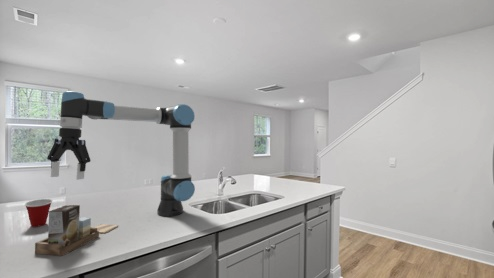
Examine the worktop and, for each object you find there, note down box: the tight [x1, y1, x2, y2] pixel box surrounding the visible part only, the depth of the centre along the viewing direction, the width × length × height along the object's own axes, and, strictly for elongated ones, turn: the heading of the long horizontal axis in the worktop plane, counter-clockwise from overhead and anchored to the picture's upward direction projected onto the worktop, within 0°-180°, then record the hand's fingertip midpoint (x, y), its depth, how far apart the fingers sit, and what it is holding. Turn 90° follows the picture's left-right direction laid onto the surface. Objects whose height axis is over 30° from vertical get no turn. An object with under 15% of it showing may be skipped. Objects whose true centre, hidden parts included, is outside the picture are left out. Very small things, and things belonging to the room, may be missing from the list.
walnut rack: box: [34, 226, 100, 257], centre depth 97 cm, size 12×18×4 cm, turn 171°
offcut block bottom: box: [79, 232, 90, 240], centre depth 103 cm, size 6×4×3 cm, turn 81°
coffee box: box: [47, 204, 81, 248], centre depth 95 cm, size 9×6×16 cm
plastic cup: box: [24, 198, 53, 228], centre depth 118 cm, size 11×11×12 cm
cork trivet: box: [93, 223, 119, 234], centre depth 114 cm, size 10×9×1 cm
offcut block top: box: [79, 216, 92, 228], centre depth 103 cm, size 6×4×3 cm, turn 81°
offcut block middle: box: [79, 225, 92, 235], centre depth 103 cm, size 6×4×3 cm, turn 80°
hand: (67, 178), depth 98 cm, fingers open, 13 cm apart
